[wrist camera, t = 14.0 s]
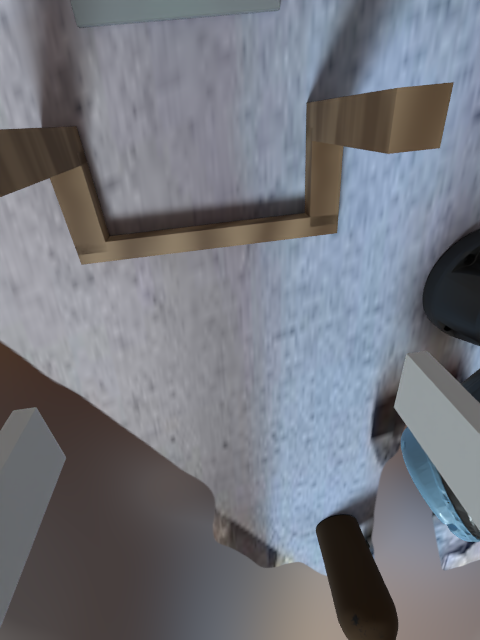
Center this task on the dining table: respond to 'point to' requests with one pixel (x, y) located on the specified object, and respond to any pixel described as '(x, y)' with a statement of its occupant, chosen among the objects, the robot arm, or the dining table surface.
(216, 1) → the mat
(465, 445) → the robot arm
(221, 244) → the frame
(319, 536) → the olive oil
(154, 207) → the dining table surface
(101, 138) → the dining table surface
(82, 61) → the dining table surface
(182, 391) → the dining table surface
